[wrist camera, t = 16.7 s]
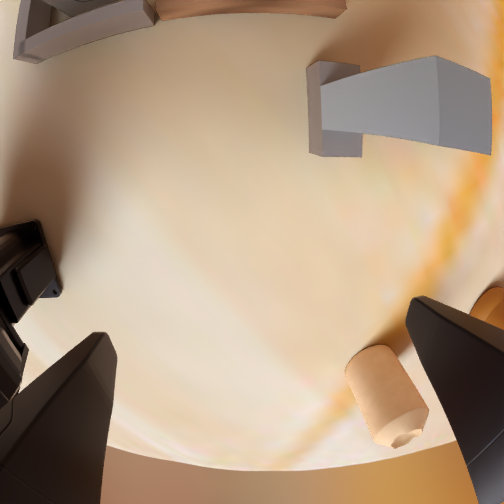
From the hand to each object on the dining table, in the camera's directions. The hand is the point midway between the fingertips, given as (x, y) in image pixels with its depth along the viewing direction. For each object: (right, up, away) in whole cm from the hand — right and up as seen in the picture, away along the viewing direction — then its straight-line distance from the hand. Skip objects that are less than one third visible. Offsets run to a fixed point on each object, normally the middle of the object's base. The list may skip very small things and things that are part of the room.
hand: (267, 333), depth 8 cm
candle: (+12, -9, +19) cm, 24 cm away
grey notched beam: (+4, +11, +9) cm, 15 cm away
